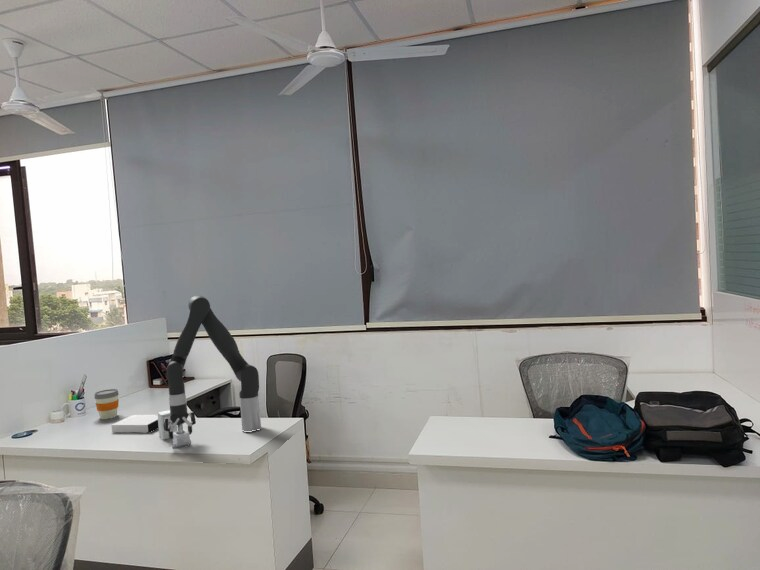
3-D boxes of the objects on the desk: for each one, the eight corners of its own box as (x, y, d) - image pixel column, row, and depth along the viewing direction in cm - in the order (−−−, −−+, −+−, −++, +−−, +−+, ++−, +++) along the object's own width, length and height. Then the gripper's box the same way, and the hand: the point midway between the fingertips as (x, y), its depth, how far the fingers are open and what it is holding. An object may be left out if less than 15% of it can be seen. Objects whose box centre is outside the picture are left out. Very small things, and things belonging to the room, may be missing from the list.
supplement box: (162, 440, 258) (160, 415, 257) (159, 436, 264) (156, 412, 263) (178, 436, 262) (176, 411, 261) (174, 433, 268) (172, 408, 267)
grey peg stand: (190, 441, 253) (188, 421, 252) (188, 446, 246) (186, 425, 246) (175, 443, 252) (173, 423, 251) (172, 448, 245) (170, 427, 244)
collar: (190, 442, 248) (189, 432, 248) (177, 446, 245) (176, 435, 244) (185, 439, 253) (184, 429, 253) (172, 443, 249) (172, 432, 249)
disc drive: (149, 434, 271) (148, 424, 271) (111, 433, 276) (111, 424, 275) (170, 423, 288) (169, 414, 288) (134, 423, 293) (133, 414, 293)
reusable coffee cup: (124, 413, 313) (122, 388, 312) (112, 419, 301) (109, 394, 300) (105, 414, 314) (102, 389, 314) (91, 420, 302) (89, 395, 301)
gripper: (165, 407, 240) (168, 442, 241) (195, 400, 250) (198, 434, 250) (159, 405, 246) (162, 438, 247) (189, 398, 255) (192, 430, 256)
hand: (180, 436), depth 249 cm, fingers open, 8 cm apart
